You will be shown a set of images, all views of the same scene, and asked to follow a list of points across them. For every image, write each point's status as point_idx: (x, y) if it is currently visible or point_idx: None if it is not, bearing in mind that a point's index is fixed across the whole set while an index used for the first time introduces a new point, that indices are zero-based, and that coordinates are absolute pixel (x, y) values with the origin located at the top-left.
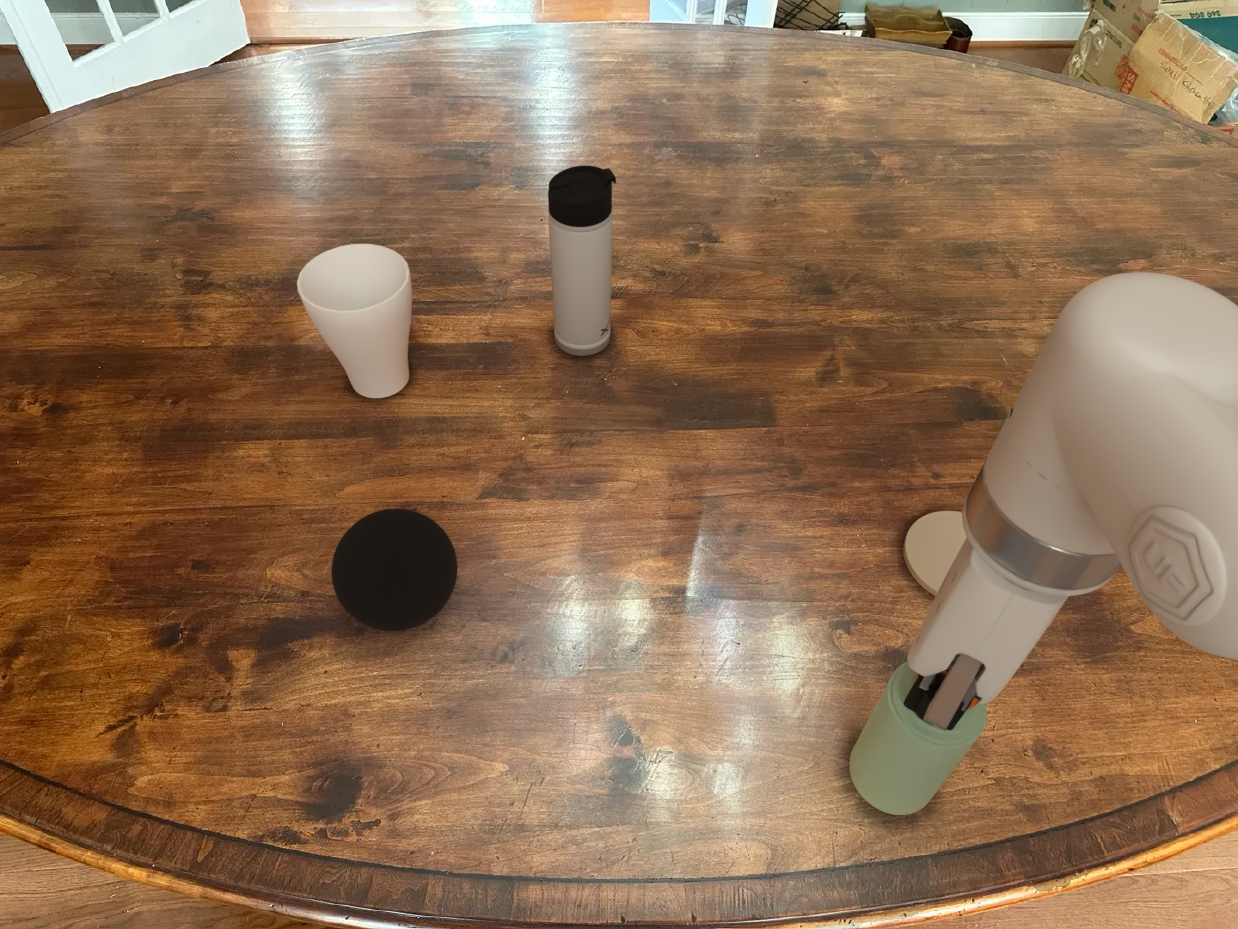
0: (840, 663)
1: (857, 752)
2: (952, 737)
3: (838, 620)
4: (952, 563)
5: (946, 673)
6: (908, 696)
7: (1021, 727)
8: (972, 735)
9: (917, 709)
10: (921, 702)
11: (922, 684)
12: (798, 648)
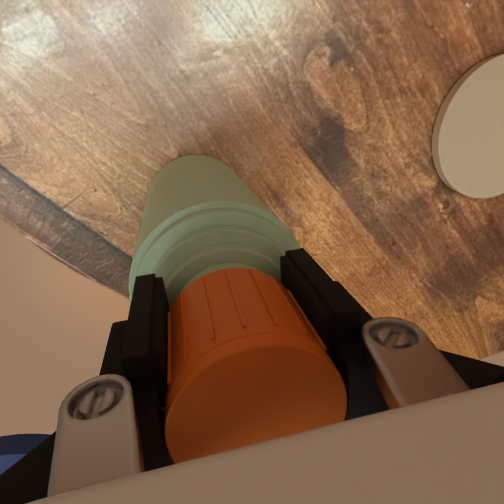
0: (285, 78)
1: (166, 171)
2: None
3: (341, 40)
4: (485, 127)
5: (169, 422)
6: (133, 294)
7: (330, 273)
8: None
9: (111, 331)
10: (105, 354)
11: (60, 418)
12: (271, 12)
